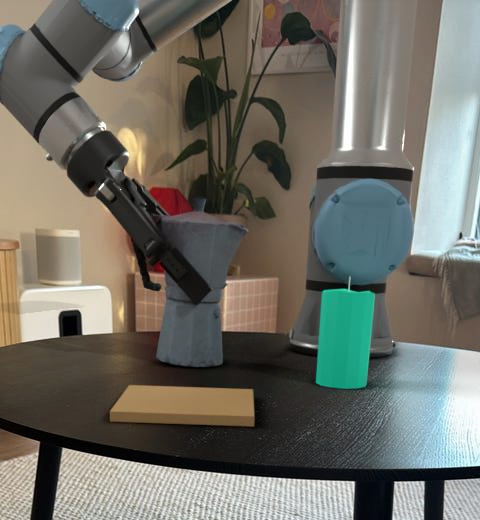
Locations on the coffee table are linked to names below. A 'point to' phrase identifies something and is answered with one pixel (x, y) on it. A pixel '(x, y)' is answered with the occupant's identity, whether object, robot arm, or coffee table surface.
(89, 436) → the coffee table surface
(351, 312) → the candle
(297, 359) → the coffee table surface
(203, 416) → the cork trivet
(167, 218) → the moka pot
